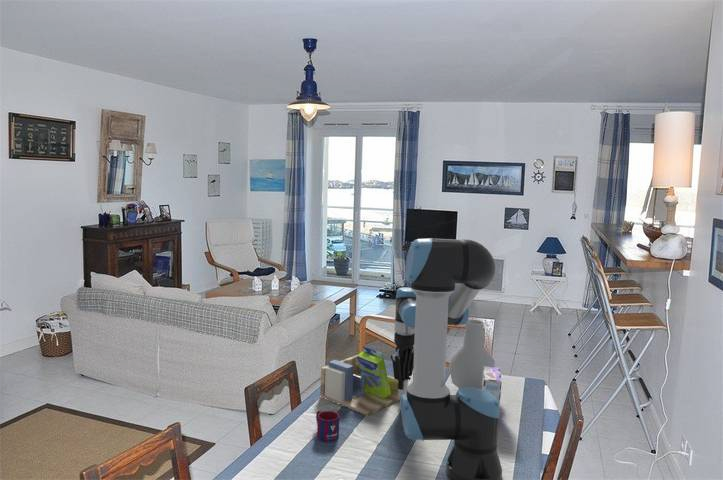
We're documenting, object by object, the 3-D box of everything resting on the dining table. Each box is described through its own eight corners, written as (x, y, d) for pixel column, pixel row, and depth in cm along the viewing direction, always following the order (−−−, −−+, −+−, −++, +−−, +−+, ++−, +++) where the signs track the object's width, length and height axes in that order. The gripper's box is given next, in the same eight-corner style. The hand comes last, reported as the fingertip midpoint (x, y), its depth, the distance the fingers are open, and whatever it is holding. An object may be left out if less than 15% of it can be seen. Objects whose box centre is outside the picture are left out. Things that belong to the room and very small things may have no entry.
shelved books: (342, 402, 194) (343, 369, 193) (324, 395, 200) (325, 363, 198) (352, 398, 198) (353, 365, 197) (333, 391, 204) (334, 359, 202)
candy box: (498, 429, 180) (502, 381, 178) (480, 427, 181) (483, 379, 179) (497, 412, 194) (500, 366, 192) (479, 410, 195) (482, 364, 193)
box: (363, 390, 205) (354, 351, 199) (371, 384, 208) (362, 345, 202) (384, 399, 198) (376, 358, 192) (392, 393, 200) (383, 352, 195)
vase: (445, 400, 202) (450, 325, 198) (449, 383, 218) (453, 314, 214) (492, 406, 198) (498, 330, 194) (493, 389, 214) (498, 318, 210)
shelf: (367, 415, 187) (368, 384, 185) (320, 396, 201) (321, 367, 199) (402, 398, 202) (403, 369, 201) (356, 382, 216) (357, 354, 215)
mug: (322, 443, 167) (323, 422, 166) (309, 429, 176) (309, 408, 175) (342, 439, 170) (343, 418, 169) (328, 425, 179) (329, 405, 178)
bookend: (355, 398, 198) (355, 382, 197) (334, 390, 204) (335, 375, 203) (365, 394, 202) (365, 378, 201) (344, 386, 208) (345, 371, 208)
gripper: (403, 338, 185) (399, 406, 188) (425, 330, 195) (421, 395, 198) (385, 333, 190) (382, 399, 193) (407, 326, 200) (404, 389, 203)
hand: (402, 397), depth 196 cm, fingers closed
